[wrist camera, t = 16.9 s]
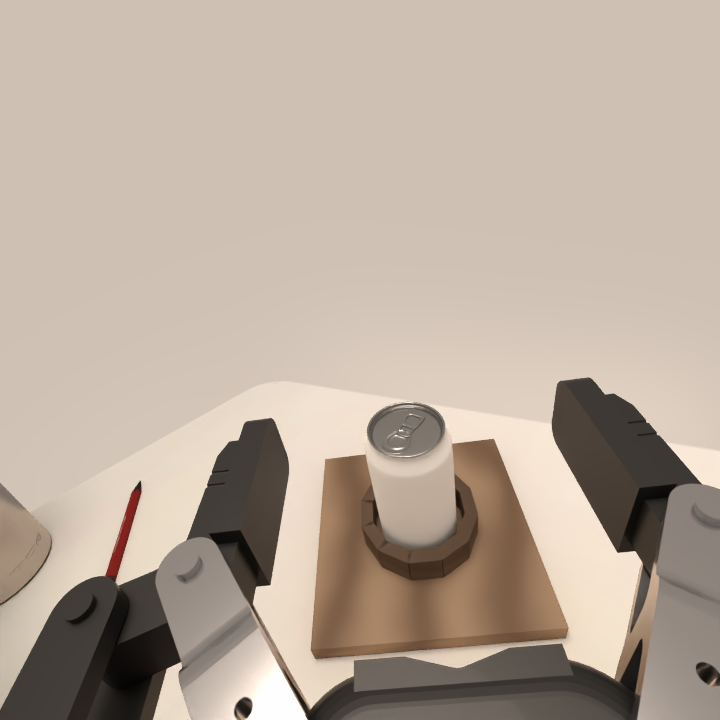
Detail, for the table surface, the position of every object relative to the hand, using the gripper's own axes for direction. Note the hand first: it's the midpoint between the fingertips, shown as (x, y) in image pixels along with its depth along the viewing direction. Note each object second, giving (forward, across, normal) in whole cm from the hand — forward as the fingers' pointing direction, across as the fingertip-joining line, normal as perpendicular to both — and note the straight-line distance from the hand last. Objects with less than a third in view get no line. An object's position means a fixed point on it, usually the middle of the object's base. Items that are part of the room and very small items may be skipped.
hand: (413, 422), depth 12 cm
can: (+13, 0, +25) cm, 28 cm away
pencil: (+17, +30, +27) cm, 44 cm away
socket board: (+13, 0, +26) cm, 29 cm away
